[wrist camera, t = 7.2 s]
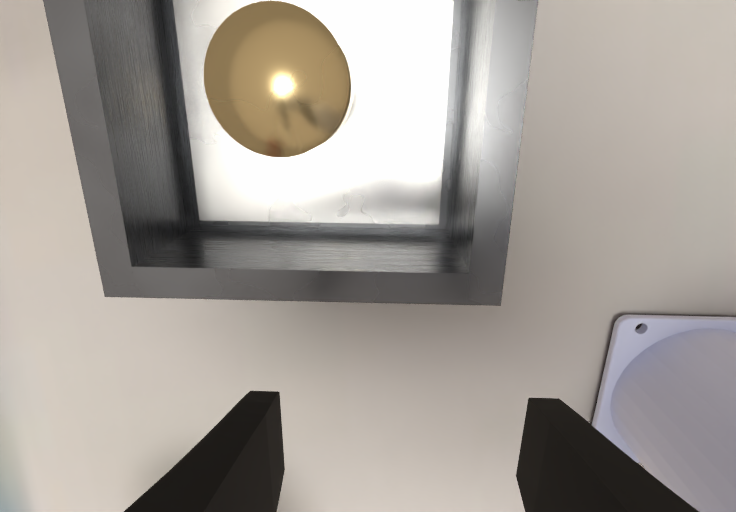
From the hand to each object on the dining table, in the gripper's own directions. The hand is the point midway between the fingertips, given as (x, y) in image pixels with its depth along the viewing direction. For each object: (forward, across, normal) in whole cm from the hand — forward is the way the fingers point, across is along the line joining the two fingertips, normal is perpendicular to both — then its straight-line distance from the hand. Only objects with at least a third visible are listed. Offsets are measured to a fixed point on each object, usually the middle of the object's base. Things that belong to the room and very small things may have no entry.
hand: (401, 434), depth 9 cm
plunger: (+9, +3, -7) cm, 12 cm away
